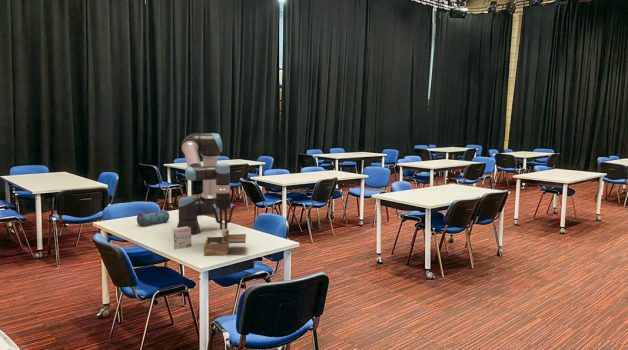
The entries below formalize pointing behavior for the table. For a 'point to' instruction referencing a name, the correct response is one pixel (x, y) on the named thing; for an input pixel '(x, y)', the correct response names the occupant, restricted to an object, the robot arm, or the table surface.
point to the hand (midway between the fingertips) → (223, 235)
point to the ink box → (182, 237)
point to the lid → (233, 238)
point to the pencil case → (152, 218)
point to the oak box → (215, 247)
